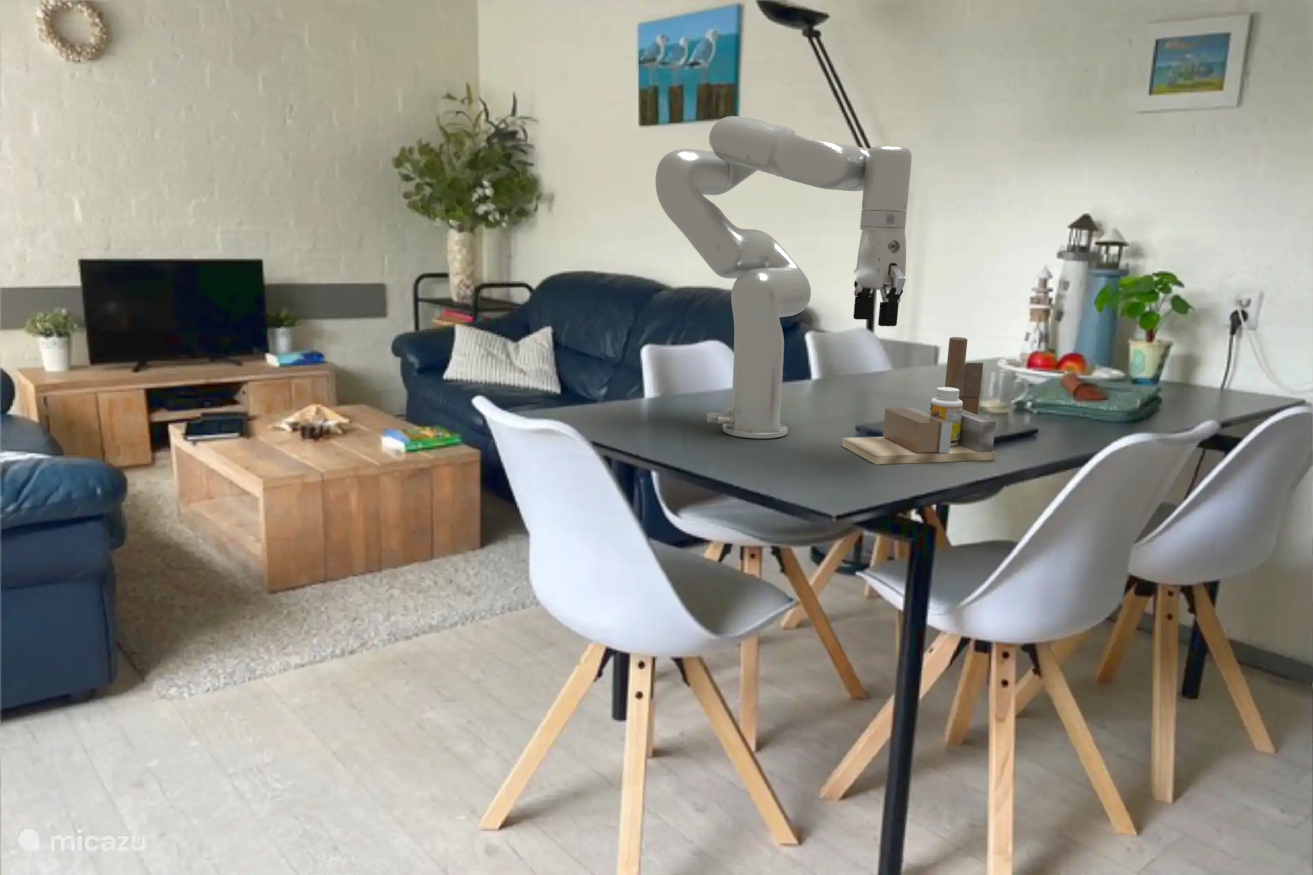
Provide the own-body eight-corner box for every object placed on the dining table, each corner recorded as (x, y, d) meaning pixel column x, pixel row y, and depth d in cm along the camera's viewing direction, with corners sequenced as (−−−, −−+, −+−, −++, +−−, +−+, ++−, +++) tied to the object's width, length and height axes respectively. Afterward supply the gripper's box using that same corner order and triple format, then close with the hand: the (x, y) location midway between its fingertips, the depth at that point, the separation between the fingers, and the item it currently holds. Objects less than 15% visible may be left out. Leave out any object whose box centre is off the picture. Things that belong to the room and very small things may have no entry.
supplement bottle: (922, 440, 180) (927, 385, 178) (951, 440, 180) (957, 386, 178) (933, 447, 174) (939, 391, 172) (963, 447, 175) (969, 391, 173)
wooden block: (959, 432, 195) (968, 343, 191) (937, 421, 205) (945, 336, 201) (977, 432, 195) (986, 343, 191) (954, 421, 206) (962, 336, 202)
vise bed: (875, 464, 167) (878, 424, 166) (841, 445, 180) (844, 408, 179) (994, 460, 173) (998, 421, 171) (953, 442, 186) (956, 406, 184)
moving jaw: (918, 453, 169) (921, 423, 167) (881, 435, 182) (883, 407, 181) (949, 452, 170) (952, 422, 169) (910, 434, 183) (913, 407, 182)
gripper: (928, 224, 158) (918, 329, 162) (880, 221, 174) (872, 317, 178) (886, 222, 156) (876, 328, 160) (841, 220, 172) (834, 316, 176)
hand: (874, 322), depth 169 cm, fingers open, 9 cm apart
